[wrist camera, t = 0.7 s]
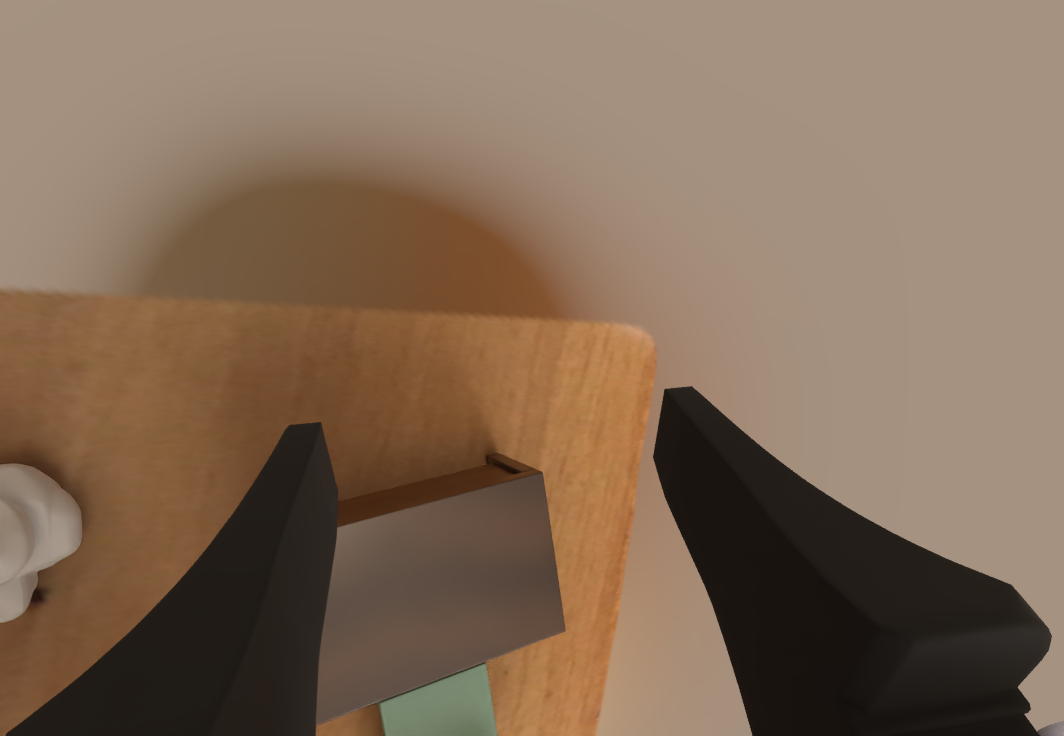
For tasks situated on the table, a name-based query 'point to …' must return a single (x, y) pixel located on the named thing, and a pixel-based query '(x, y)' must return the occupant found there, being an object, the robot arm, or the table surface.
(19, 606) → the white sculpted figure
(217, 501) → the table surface
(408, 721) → the green seat
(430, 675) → the desk
